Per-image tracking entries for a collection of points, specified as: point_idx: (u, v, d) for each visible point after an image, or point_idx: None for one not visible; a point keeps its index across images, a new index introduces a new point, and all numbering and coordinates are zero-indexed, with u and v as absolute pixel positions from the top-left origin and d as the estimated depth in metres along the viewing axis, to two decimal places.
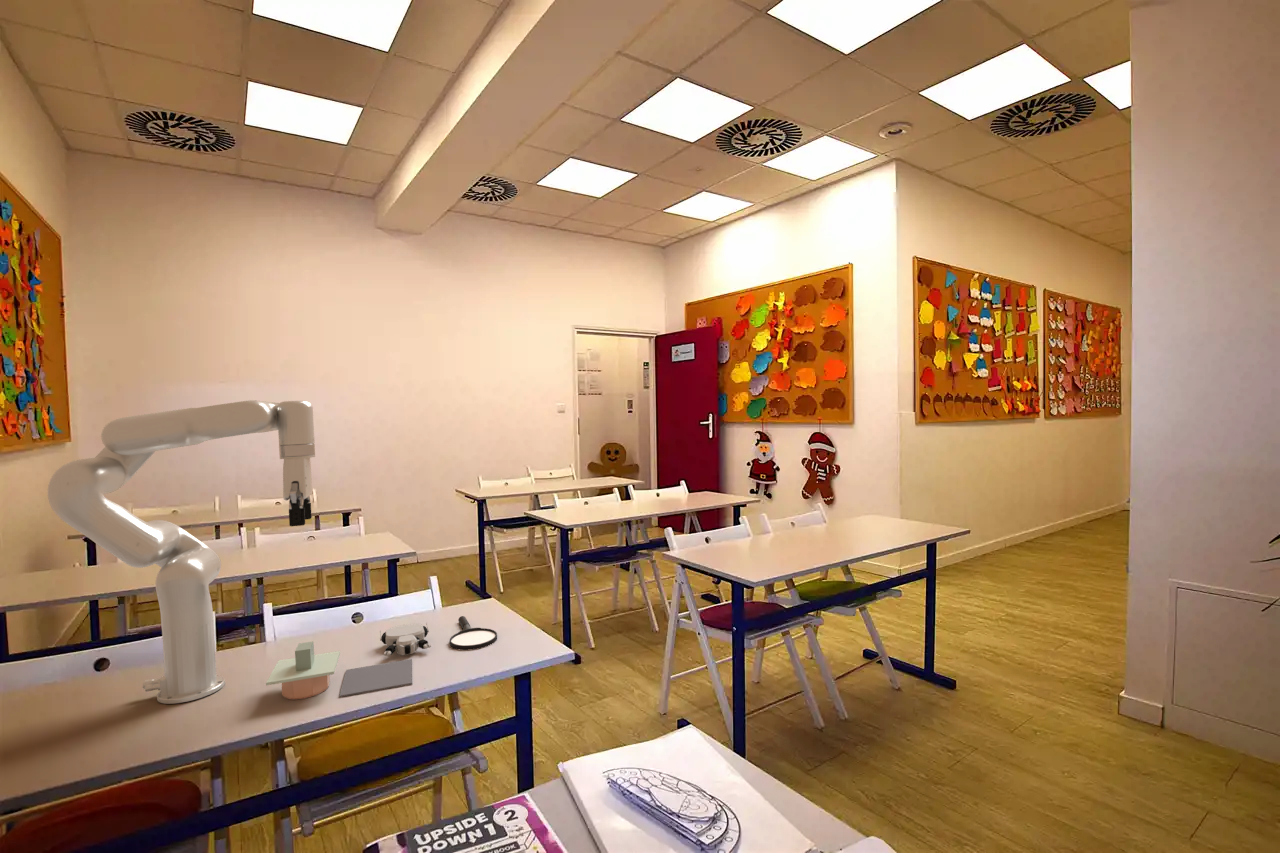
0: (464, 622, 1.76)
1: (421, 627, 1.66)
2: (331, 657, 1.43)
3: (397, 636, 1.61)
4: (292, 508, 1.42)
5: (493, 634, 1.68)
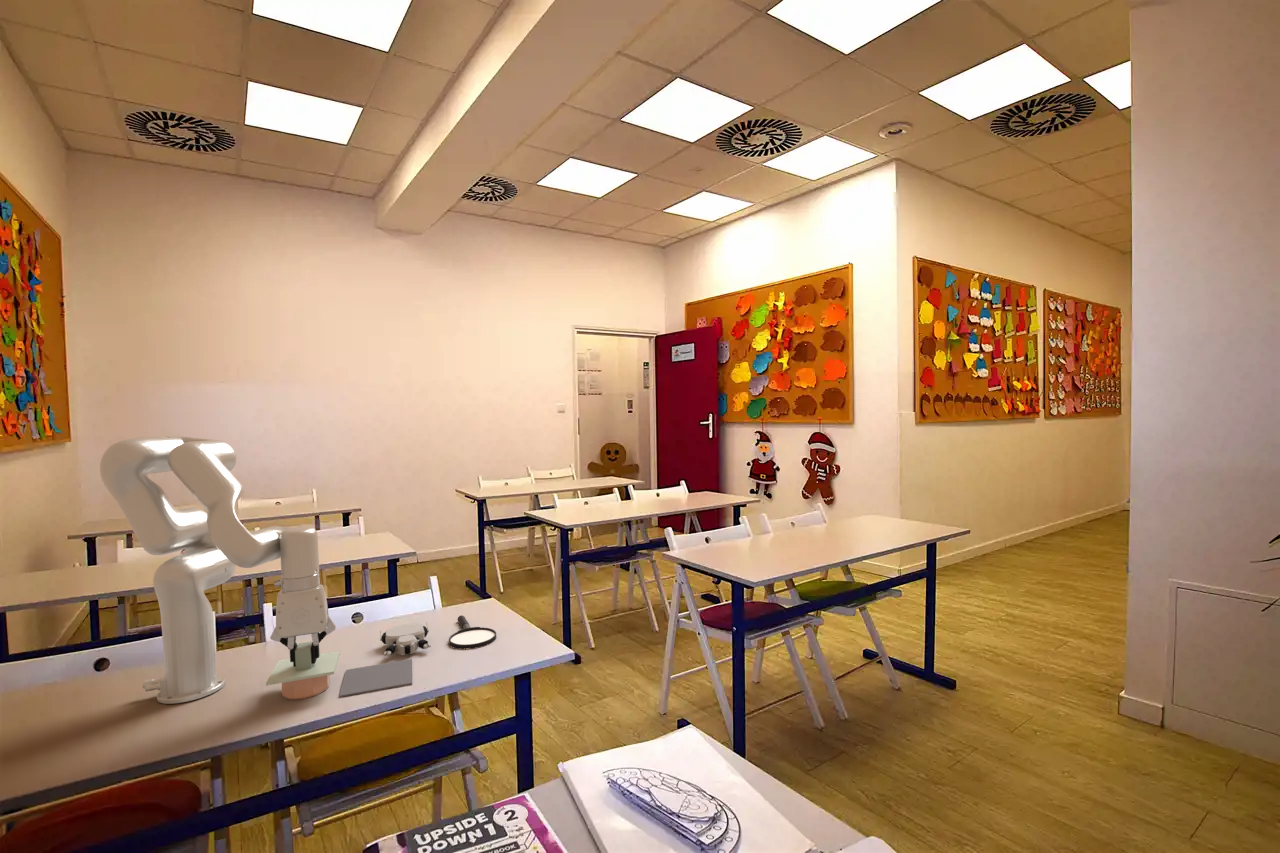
0: (463, 621, 1.77)
1: (421, 627, 1.66)
2: (331, 657, 1.43)
3: (397, 636, 1.61)
4: None
5: (492, 633, 1.69)
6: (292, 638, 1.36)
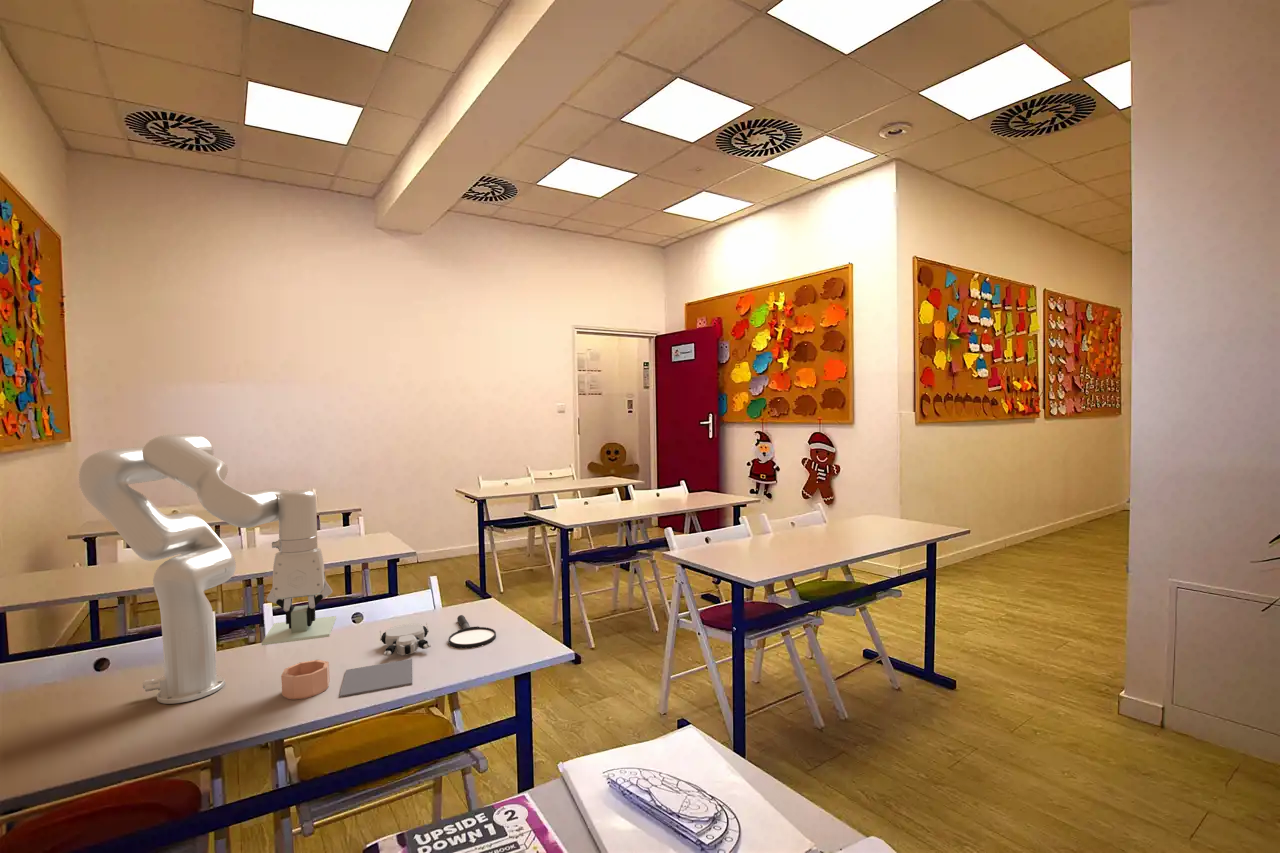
0: (463, 621, 1.77)
1: (421, 627, 1.66)
2: (327, 621, 1.43)
3: (397, 636, 1.61)
4: (313, 607, 1.39)
5: (492, 633, 1.69)
6: (288, 600, 1.36)
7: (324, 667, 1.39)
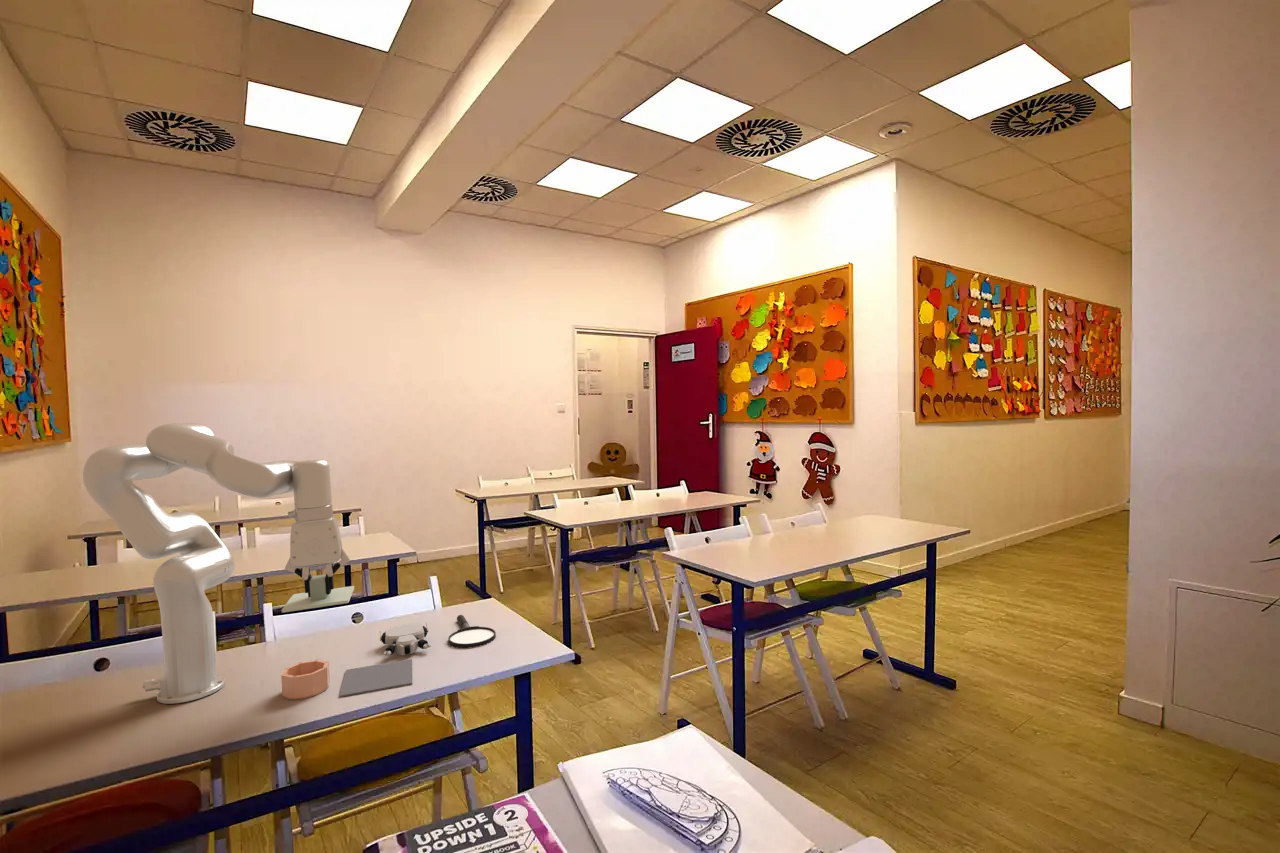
0: (462, 621, 1.77)
1: (421, 627, 1.66)
2: (345, 590, 1.44)
3: (397, 636, 1.61)
4: (331, 575, 1.40)
5: (492, 632, 1.69)
6: (306, 569, 1.37)
7: (324, 667, 1.39)
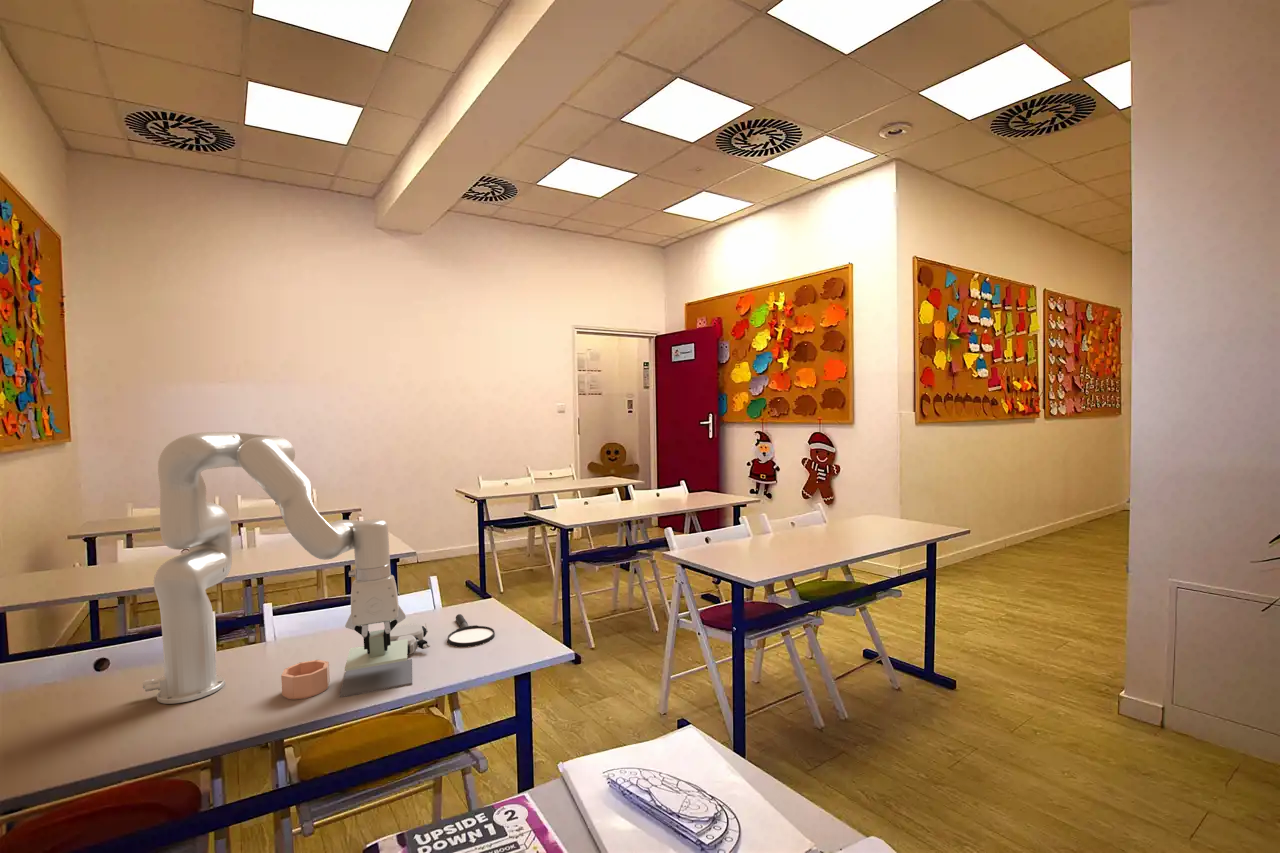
0: (461, 620, 1.78)
1: (420, 627, 1.66)
2: (400, 645, 1.48)
3: (396, 636, 1.61)
4: None
5: (490, 632, 1.70)
6: (366, 626, 1.42)
7: (324, 667, 1.39)
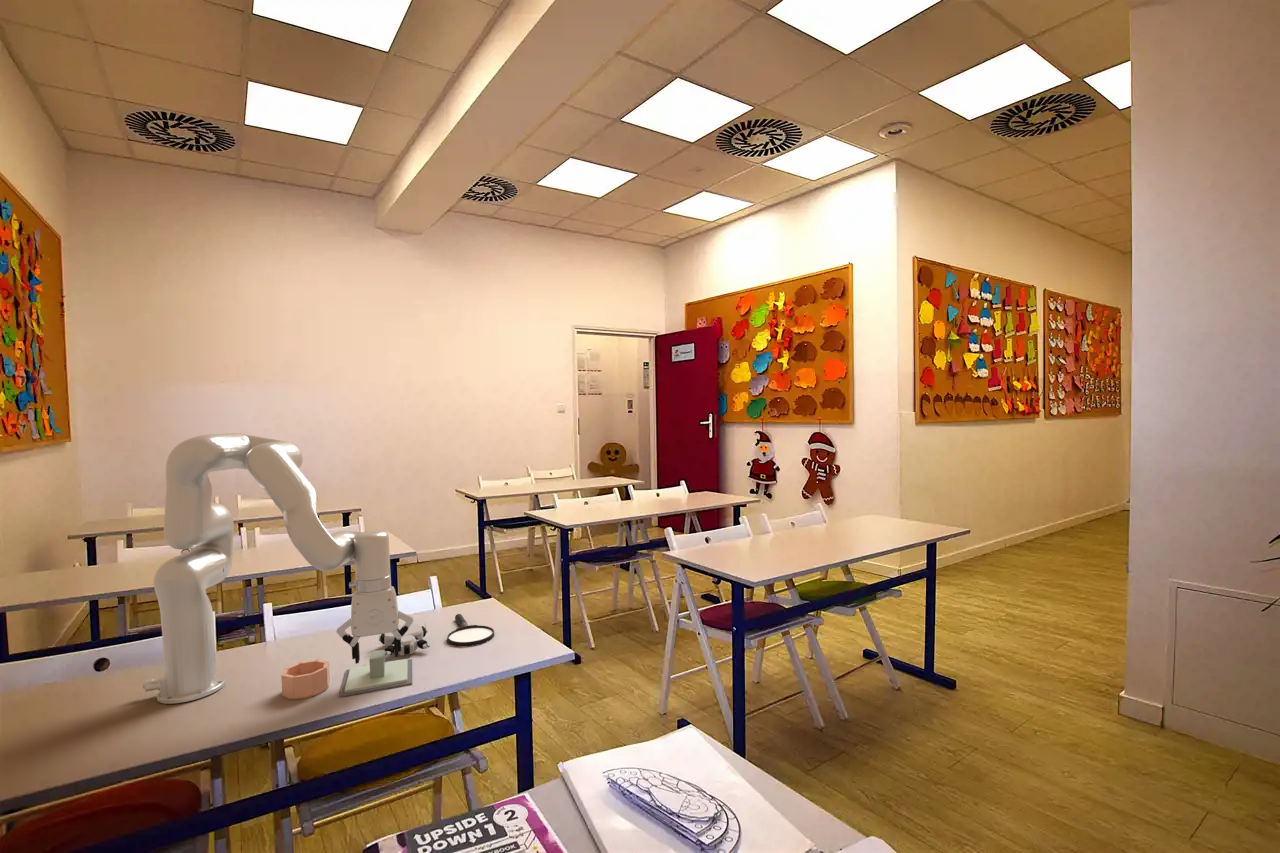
0: (461, 620, 1.78)
1: (420, 627, 1.66)
2: (400, 665, 1.48)
3: None
4: (401, 637, 1.45)
5: (490, 631, 1.70)
6: (358, 637, 1.41)
7: (324, 667, 1.39)
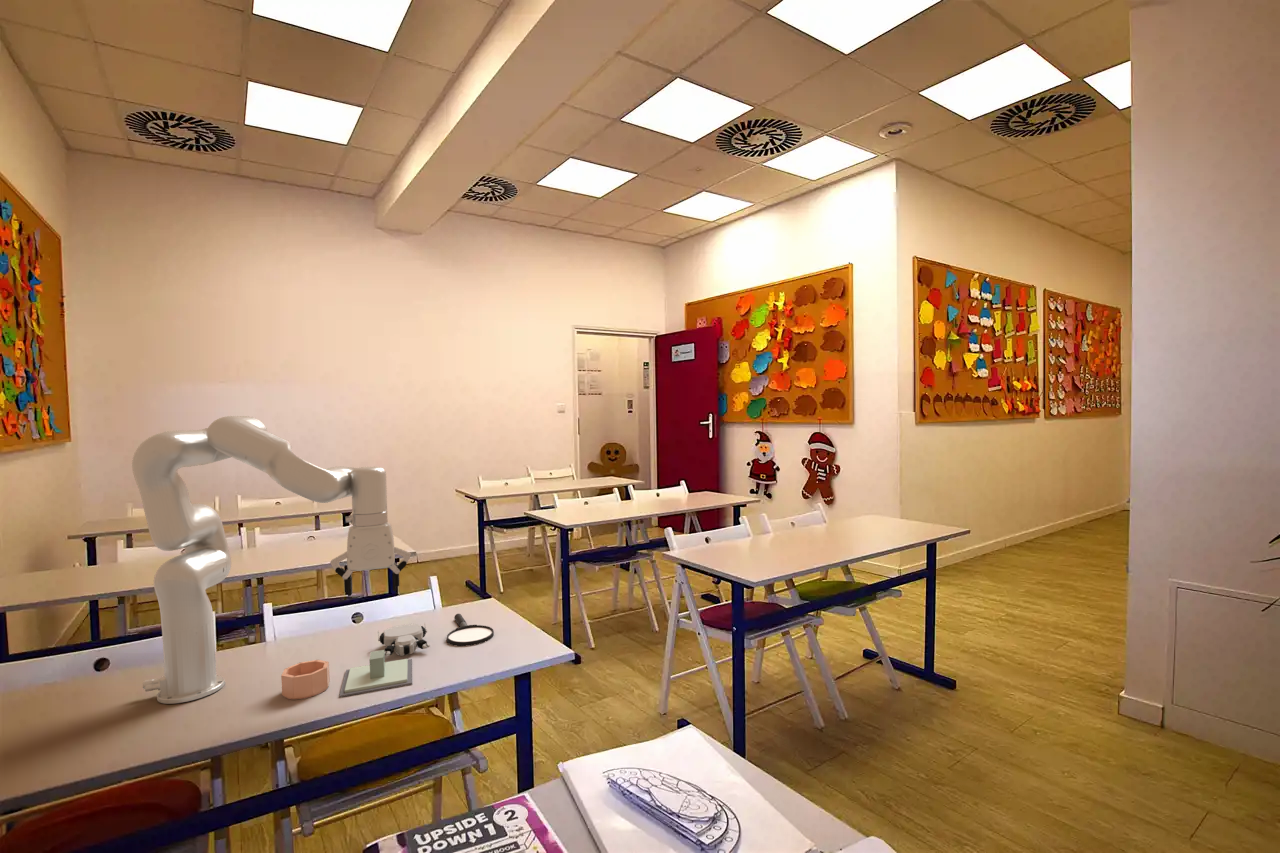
0: (460, 619, 1.79)
1: (419, 627, 1.66)
2: (400, 665, 1.48)
3: (396, 636, 1.61)
4: (399, 571, 1.45)
5: (490, 631, 1.71)
6: (351, 570, 1.41)
7: (324, 667, 1.39)
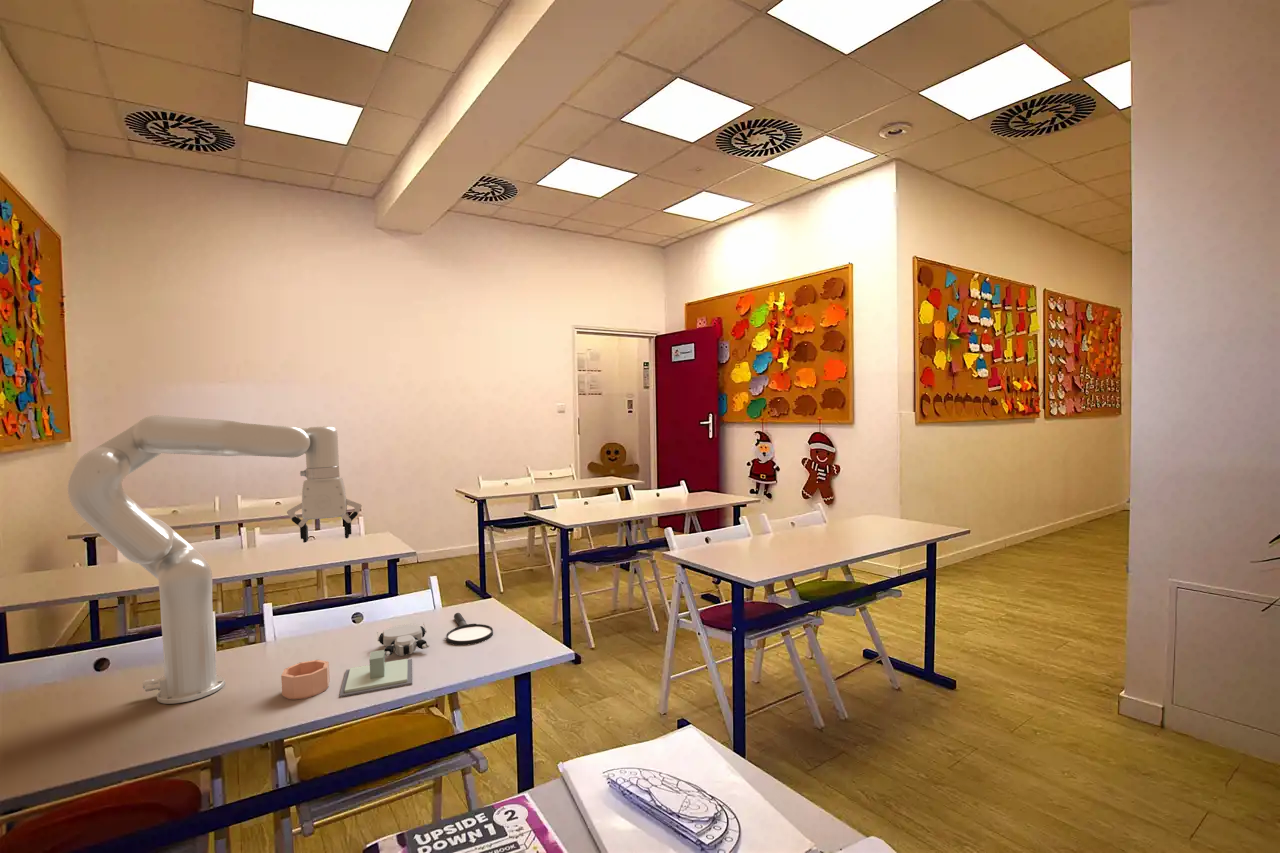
0: (460, 618, 1.79)
1: (419, 627, 1.66)
2: (400, 665, 1.48)
3: (395, 636, 1.61)
4: None
5: (489, 630, 1.72)
6: (306, 519, 1.56)
7: (324, 667, 1.39)
